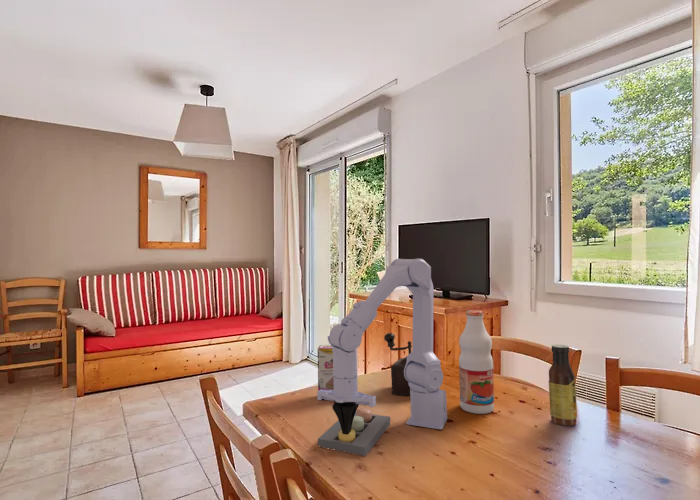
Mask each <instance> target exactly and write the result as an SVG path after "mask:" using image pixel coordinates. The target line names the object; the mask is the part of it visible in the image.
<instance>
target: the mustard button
mask: <svg viewBox="0 0 700 500" xmlns="http://www.w3.org/2000/svg"><path fill="white" fill-rule="evenodd" d="M354 440H355V431H354V430H352V429H351V432H350V433H349V434H348V435H346V434H343V433H342V430H340V431H339V441H345V442H351V443H353V441H354Z"/></svg>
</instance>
